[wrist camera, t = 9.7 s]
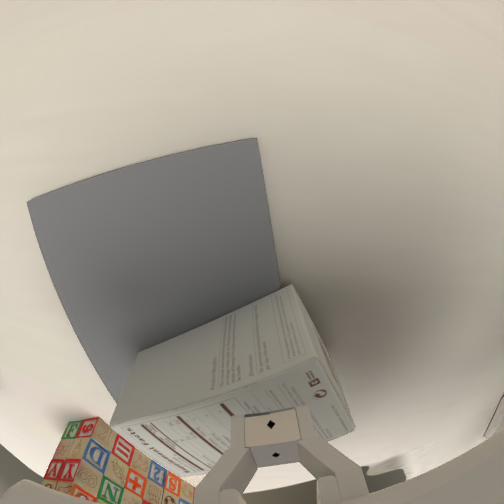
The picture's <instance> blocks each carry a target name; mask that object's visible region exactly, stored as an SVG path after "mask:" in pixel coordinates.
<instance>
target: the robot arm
mask: <svg viewBox="0 0 504 504" xmlns="http://www.w3.org/2000/svg"><path fill="white" fill-rule="evenodd" d="M484 437H485V438H486V439H487V440H486V441H484V442H482V443H481V444H479V445H477V446H476V447H474V448H472V449H471V450H469V451H467V452H465V453H464V454H462V455H460V456H458V457H456V458H454V459H453V460H451V461H449V462H447V463H445V464H443V465H441V466H439V467H437V468H434V469H432V470H430V471H428V472H426V473H424V474H421V475H419V476H417V477H414V478H412V479H409V480H407V481H404V482H402V483H399V484H397V485H394V486H391V487H388V488H386V489H383V490H380V491H377V492H374V493H371V494H369V492H368V488H367V485H366V482H365V479H364V476H363V472H362V469H361V467H360V466H359V465H357V464H356V463H355V462H353V461H352V460H350V459H349V458H348V457H346V456H345V455H344V454H342V453H341V452H340V451H338V450H337V449H336V448H334V447H333V446H332V445H330V444H329V443H328V442H327V441H325V440H324V439H323V438H321V437H320V436H319V437H316V434H315V430H314V426H313V422H312V418H311V413H310V409H309V406H308V405H303V406H298V407H291V408H286V409H280V410H274V411H270V412H263V413H254V414H244V415H234V416H232V417H231V447H230V449H227V450H226V451H225V452H224V454H223V455H222V456H221V458H220V459H219V460H218V461H217V463H216V464H215V465H214V466H213V467H212V469H211V470H210V471H209V472H208V474H207V475H206V476H205V477H204V478H203V480H202V481H201V482H200V483H199V484H198V486H197V487H196V488H195V492H194V504H246V502H245V501H244V499H243V498H242V496H241V495H242V494H243V492H244V490H245V489H246V487H247V486H248V484H249V482H250V481H251V479H252V477H253V476H254V474H255V472H256V471H257V468H259V467H267V466H273V465H280V464H288V463H295V462H300V463H301V464H302V465H303V466H304V467H305V468H306V469H307V470H308V471H309V472H310V473H311V474H312V475H313V476H314V477H315V478H316V479H317V480H318V481H317V504H504V396H503V398H502V399H501V401H500V403H499V406H498V408H497V410H496V412H495V415H494V417H493V419H492V421H491V423H490V425H489V427H488V429H487V431H486V433H485V435H484ZM488 438H489V439H488ZM0 504H101V503H97V502H93V501H89V500H85V499H82V498H78V497H75V496H71V495H68V494H65V493H62V492H59V491H56V490H53V489H51V488H48V487H45V486H43V485H40V484H37V483H35V482H33V481H30V480H22V481H20V482H18V483H16V484H15V485H13V486H12V487H10V488H9V489H8V490H6V492H5V493H4V495H3V497H2V499H1V502H0Z"/></svg>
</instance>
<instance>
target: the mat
mask: <svg viewBox="0 0 504 504" xmlns="http://www.w3.org/2000/svg"><path fill="white" fill-rule="evenodd" d="M27 206H28V209H29V213H30V217H31V220H32V224H33V227H34V231H35V234H36V237H37V240H38V243H39V246H40V249H41V252H42V255H43V258H44V261H45V264H46V266H47V269H48V272H49V274H50V277H51V279H52V282H53V285H54V287H55V289H56V292H57V294H58V297H59V299H60V301H61V303H62V306H63V308H64V310H65V312H66V314H67V317H68V319H69V321H70V323H71V325H72V327H73V329H74V331H75V333H76V335H77V337H78V339H79V341H80V343H81V345H82V347H83V348H84V350H85V352H86V354H87V356H88V358H89V359H90V361H91V363H92V365H93V366H94V368H95V370H96V372H97V373H98V375H99V377H100V378H101V380H102V382H103V383H104V385H105V386H106V388H107V390H108V391H109V393H110V394H111V396H112V397H113V399H114V400H115V402H116V403H118V401H119V398H120V396H121V393H122V390H123V388H124V385H125V382H126V380H127V378H128V376H129V373H130V371H131V368H132V366H133V364H134V361H135V359H136V356H137V354H138V352H140V351H143V350H145V349H148V348H150V347H152V346H155V345H157V344H160V343H162V342H165V341H167V340H169V339H172V338H174V337H176V336H179V335H181V334H183V333H186V332H188V331H190V330H193V329H195V328H197V327H200V326H202V325H204V324H206V323H208V322H211V321H213V320H215V319H218V318H220V317H222V316H224V315H226V314H229V313H231V312H233V311H235V310H238V309H240V308H242V307H244V306H246V305H248V304H250V303H252V302H255V301H257V300H259V299H261V298H263V297H265V296H267V295H270V294H272V293H274V292H276V291H278V290H280V289H281V287H280V280H279V273H278V267H277V260H276V253H275V247H274V240H273V233H272V227H271V221H270V214H269V208H268V202H267V195H266V189H265V183H264V177H263V171H262V165H261V159H260V153H259V148H258V142H257V138H253V139H246V140H241V141H235V142H229V143H224V144H219V145H214V146H209V147H204V148H199V149H195V150H190V151H186V152H181V153H177V154H173V155H169V156H165V157H161V158H157V159H153V160H149V161H145V162H142V163H138V164H135V165H131V166H128V167H124V168H121V169H117V170H114V171H111V172H108V173H104V174H101V175H98V176H95V177H92V178H89V179H86V180H83V181H80V182H77V183H74V184H72V185H69V186H66V187H63V188H61V189H58V190H55V191H53V192H50V193H48V194H45V195H42V196H40V197H37V198H35V199H33V200H30V201H28V202H27Z"/></svg>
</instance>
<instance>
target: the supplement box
mask: <svg viewBox="0 0 504 504" xmlns="http://www.w3.org/2000/svg"><path fill="white" fill-rule="evenodd" d="M303 405H308V406H309V409H310V413H311V418H312V422H313V426H314V430H315V434H316V437H319V436H320V437H321V438H323V439H324V440H325V441H330V440H333V439H335V438H338V437H340V436H343V435H345V434H348V433H350V432H352V431H353V430H354V428H355V424H354V422H353V419H352V417H351V414H350V411H349V408H348V406H347V403H346V400H345V397H344V395H343V392H342V389H341V386H340V384H339V381H338V378H337V376H336V373H335V371H334V368H333V366H332V363H331V361H330V356H329V353H328V351H327V349H326V347H325V345H324V344H323V342H322V339H321V337H320V335H319V333H318V331H317V329H316V327H315V326H314V324H313V322H312V320H311V318H310V316H309V314H308V312H307V310H306V308H305V306H304V304H303V303H302V301H301V299H300V297H299V295H298V293H297V291H296V290H295V288H294V286H293V285H292V284H290V285H288V286H286V287H284V288H282V289H280V290H278V291H276V292H274V293H272V294H270V295H267V296H265V297H263V298H261V299H259V300H257V301H255V302H252V303H250V304H248V305H246V306H244V307H242V308H240V309H238V310H235V311H233V312H231V313H229V314H226V315H224V316H222V317H220V318H218V319H215V320H213V321H211V322H208V323H206V324H204V325H202V326H200V327H197V328H195V329H193V330H190V331H188V332H186V333H183V334H181V335H179V336H176V337H174V338H172V339H169V340H167V341H165V342H162V343H160V344H157V345H155V346H152V347H150V348H148V349H145V350H143V351H140V352H138V354H137V356H136V359H135V361H134V364H133V366H132V368H131V371H130V373H129V376H128V378H127V380H126V382H125V385H124V388H123V390H122V393H121V396H120V398H119V401H118V403H117V406H116V409H115V411H114V413H113V416H112V419H111V421H110V427H111V429H113V430H114V431H115V432H116V433H118V434H119V435H120V436H122V437H123V438H124V439H125V440H127V441H128V442H129V443H131V444H132V445H134V446H135V447H136V448H138V449H139V450H141V451H142V452H144V453H145V454H146V455H148V456H149V457H150V458H152V459H153V460H155V461H156V462H158V463H159V464H160V465H162V466H163V467H165V468H166V469H168V470H170V471H171V472H173V473H174V474H176V475H177V476H179V477H185V476H192V475H200V474H206V473H208V472H209V471H210V470H211V469H212V467H213V466H214V465H215V464H216V463H217V461H218V460H219V459H220V458H221V456H222V455H223V454H224V452H225V451H226V450H227V449H230V447H231V417H232V416H234V415H244V414H254V413H263V412H270V411H274V410H280V409H286V408H291V407H298V406H303Z"/></svg>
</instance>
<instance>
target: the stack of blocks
mask: <svg viewBox="0 0 504 504" xmlns="http://www.w3.org/2000/svg"><path fill="white" fill-rule="evenodd" d="M42 485H43V486H45V487H48V488H51V489H53V490H56V491H59V492H62V493H65V494H68V495H71V496H75V497H78V498H82V499H85V500H89V501H93V502H97V503H101V504H194V492H195V488H194V487H193V486H191V485H190V484H188V483H187V482H185V481H183V480H181V479H180V478H179V477H177V476H175V475H174V474H172V473H171V472H169V471H168V470H166V469H164V468H163V467H161V466H160V465H158V464H157V463H156V462H154V461H153V460H151V459H150V458H148V457H147V456H146V455H144V454H143V453H142V452H140V451H139V450H138V449H136V448H135V447H134V446H133V445H132V444H130V443H129V442H128V441H127V440H125V439H124V438H123V437H122V436H120V435H119V434H118V433H116V432H115V431H114V430H113V429H111V427H110V426H109V425H108V424H107V423H105V422H104V421H103V420H102V419H101V418H100V417H97V418H91V419H86V420H81V421H74V422H69V423H68V425H67V427H66V429H65V431H64V434H63V436H62V438H61V441H60V443H59V445H58V447H57V449H56V451H55V454H54V456H53V459H52V460H51V462H50V464H49V466H48V469H47V471H46V474H45V476H44V480H43V482H42Z"/></svg>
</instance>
